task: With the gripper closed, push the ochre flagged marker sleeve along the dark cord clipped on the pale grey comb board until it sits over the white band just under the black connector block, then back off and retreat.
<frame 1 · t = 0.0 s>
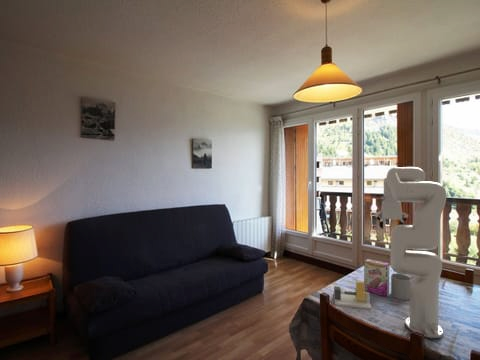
hand: (391, 228, 146), 31 cm above the table, fingers open, 9 cm apart
cup: (400, 296, 130), on the table
cord comb: (351, 301, 126), on the table
candy bar box: (376, 292, 134), on the table
marker sleeve: (360, 290, 124), point 6 cm above the table, slide at -4.0 cm
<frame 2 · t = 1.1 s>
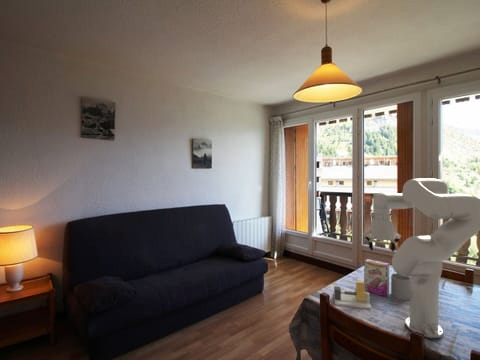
hand: (381, 250, 131), 24 cm above the table, fingers open, 9 cm apart
nothing on the table moved.
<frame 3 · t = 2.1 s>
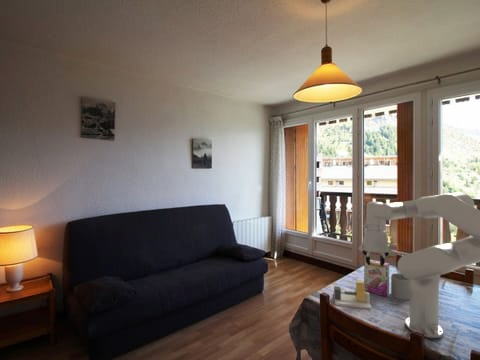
hand: (375, 264, 122), 19 cm above the table, fingers open, 5 cm apart
nothing on the table moved.
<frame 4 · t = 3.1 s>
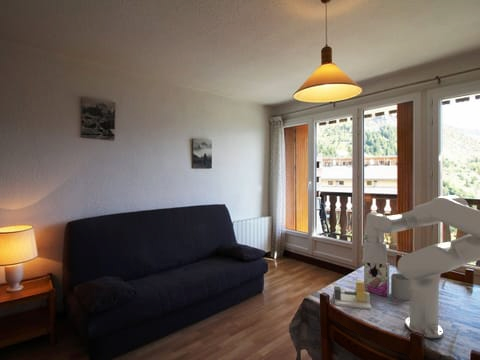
hand: (373, 276, 123), 14 cm above the table, fingers closed
nothing on the table moved.
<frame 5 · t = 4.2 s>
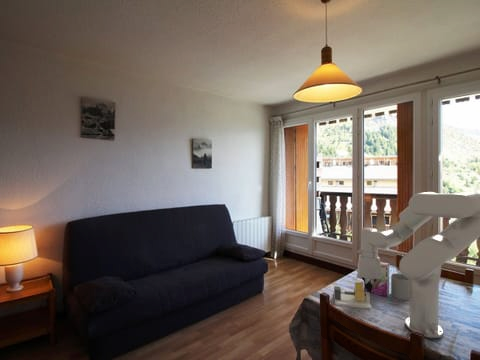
hand: (368, 290, 124), 6 cm above the table, fingers closed
marker sleeve: (359, 290, 125), point 6 cm above the table, slide at -3.4 cm, touching gripper
everything else where it was.
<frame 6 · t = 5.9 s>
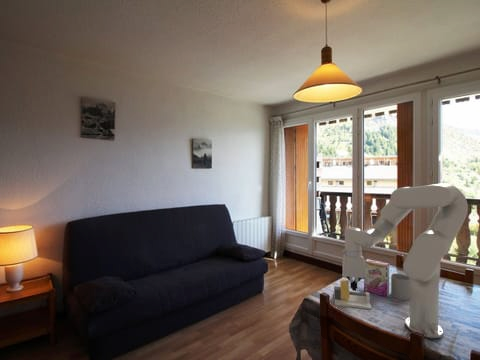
hand: (353, 289, 125), 6 cm above the table, fingers closed
marker sleeve: (344, 288, 126), point 6 cm above the table, slide at 3.2 cm, touching cord comb, gripper
everything else where it was.
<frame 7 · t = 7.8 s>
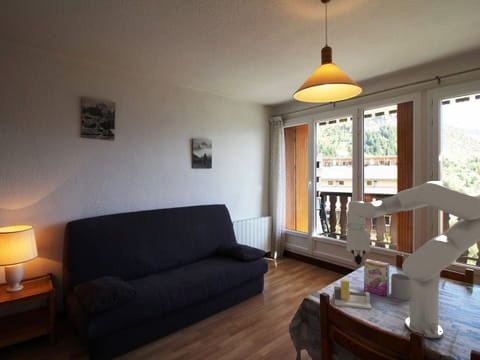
hand: (358, 263, 124), 19 cm above the table, fingers closed
marker sleeve: (344, 288, 126), point 6 cm above the table, slide at 3.1 cm
everything else where it was.
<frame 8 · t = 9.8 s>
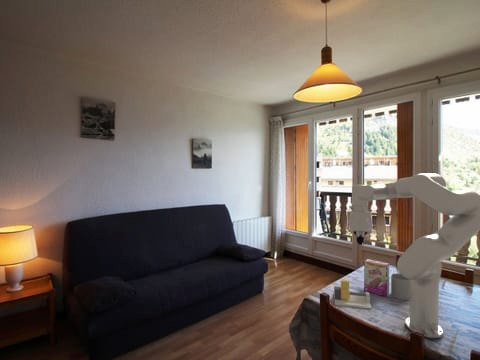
hand: (360, 243, 130), 27 cm above the table, fingers closed
nothing on the table moved.
at the end: marker sleeve slide at 3.1 cm; the gripper is holding nothing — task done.
